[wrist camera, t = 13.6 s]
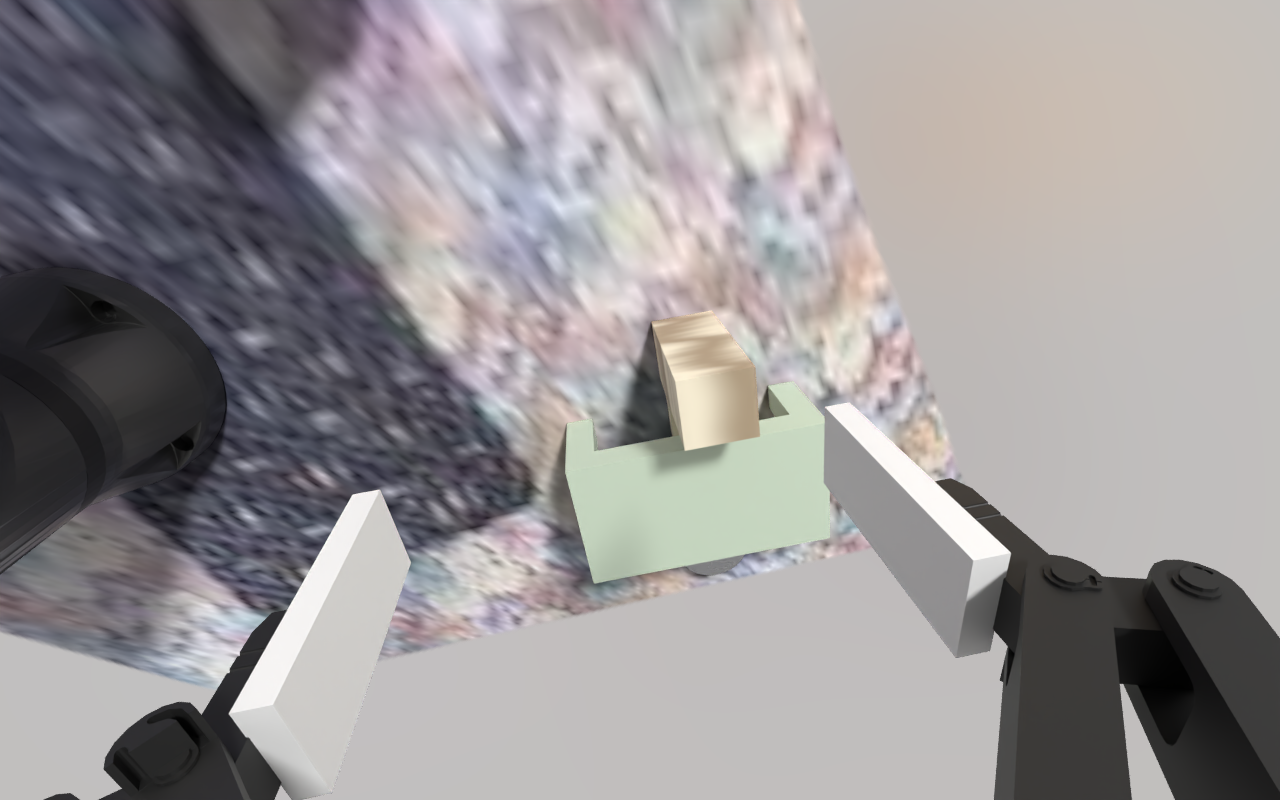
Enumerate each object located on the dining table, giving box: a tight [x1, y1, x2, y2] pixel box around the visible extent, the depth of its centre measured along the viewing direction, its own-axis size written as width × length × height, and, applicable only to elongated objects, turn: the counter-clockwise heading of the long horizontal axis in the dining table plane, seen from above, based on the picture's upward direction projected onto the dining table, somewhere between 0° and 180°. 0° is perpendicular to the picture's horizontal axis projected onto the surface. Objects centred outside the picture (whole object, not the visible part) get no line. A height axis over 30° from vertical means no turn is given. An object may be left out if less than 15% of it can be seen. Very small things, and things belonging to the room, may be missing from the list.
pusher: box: [651, 311, 760, 451], centre depth 39 cm, size 4×18×11 cm, turn 9°
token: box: [686, 555, 744, 575], centre depth 49 cm, size 6×6×2 cm
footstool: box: [565, 381, 830, 584], centre depth 43 cm, size 18×10×7 cm, turn 99°
